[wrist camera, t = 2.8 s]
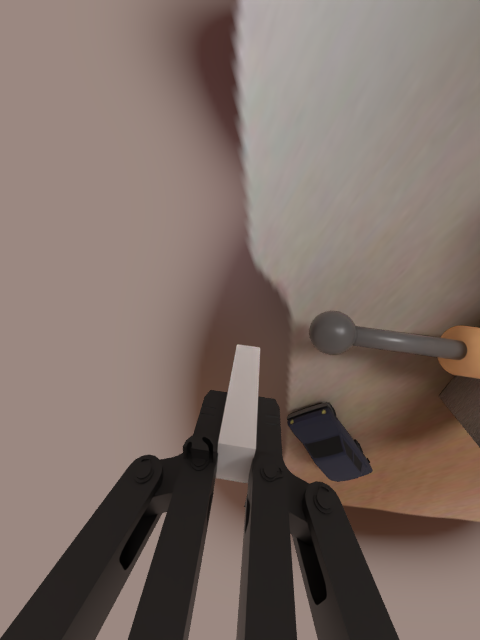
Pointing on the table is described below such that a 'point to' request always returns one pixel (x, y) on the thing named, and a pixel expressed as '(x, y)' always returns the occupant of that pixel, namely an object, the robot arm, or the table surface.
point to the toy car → (329, 443)
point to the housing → (464, 403)
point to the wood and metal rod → (400, 342)
